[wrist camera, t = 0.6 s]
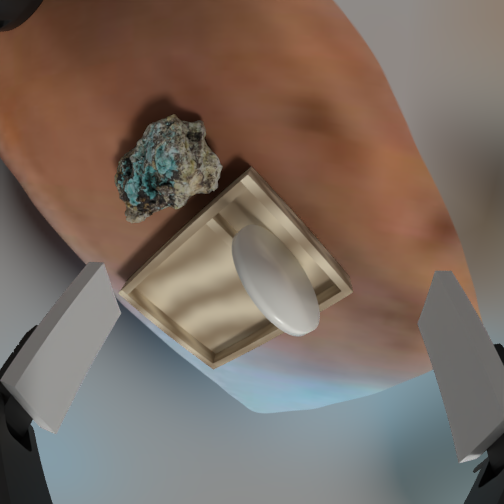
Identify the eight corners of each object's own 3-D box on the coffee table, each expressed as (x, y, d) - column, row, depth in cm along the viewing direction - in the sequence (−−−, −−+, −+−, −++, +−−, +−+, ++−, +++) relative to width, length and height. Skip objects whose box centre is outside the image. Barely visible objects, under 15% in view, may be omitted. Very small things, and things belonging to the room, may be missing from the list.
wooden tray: (127, 280, 43) (118, 293, 41) (251, 166, 33) (247, 174, 30) (217, 354, 49) (213, 369, 46) (349, 277, 39) (353, 292, 36)
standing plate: (242, 212, 35) (220, 276, 25) (248, 207, 34) (229, 269, 24) (310, 283, 39) (313, 359, 28) (316, 279, 38) (322, 354, 28)
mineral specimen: (192, 99, 29) (135, 121, 24) (242, 172, 32) (197, 209, 26) (134, 155, 37) (86, 183, 32) (174, 213, 40) (132, 248, 34)
